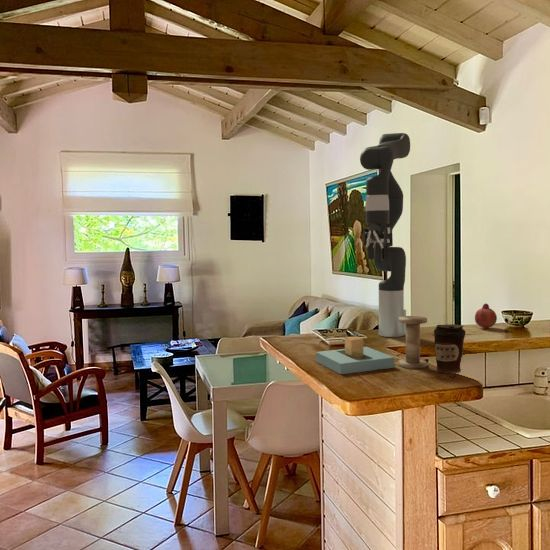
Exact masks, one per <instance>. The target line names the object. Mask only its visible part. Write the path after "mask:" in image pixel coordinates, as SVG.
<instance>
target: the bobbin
mask: <svg viewBox="0 0 550 550" xmlns="http://www.w3.org/2000/svg"><path fill="white" fill-rule="evenodd" d="M399 322H401V323H406V335H405V358H401V359H400V360H398V366H399V367H401V368H405V369H411V370H412V369H413V370H418V369H419V370H420V369H424V368H427V367H428V361H426V360H424V359H421V324H423V325H424V324H427V323H428V318H427V317H426V316H421V315H420V316H418V315H406V316H402V317H399Z"/></svg>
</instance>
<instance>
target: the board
mask: <svg viewBox="0 0 550 550" xmlns="http://www.w3.org/2000/svg"><path fill="white" fill-rule="evenodd" d="M315 357H316V358H315V360H316V363H318V364H320V365H322V366H324V367H325V368H327V369H330V370H331V371H334V372H336V373H337V374H339V375H346V374H354V373H355V374H356V373H362V372H369V371H379V370H385V369H386V370H387V369H394V368H396V367H395V357H394V356H392V355H390V354H387V353H385V352H381V351H379V350H376V349H373V348H371V347H369V346H363V360H355V359H353V358H350V357H348V356H346V355H345V348H342V349H340V348H339V349H331V350H330V349H329V350H324V351H322V350H321V351H316V353H315ZM378 369H379V370H378Z"/></svg>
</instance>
